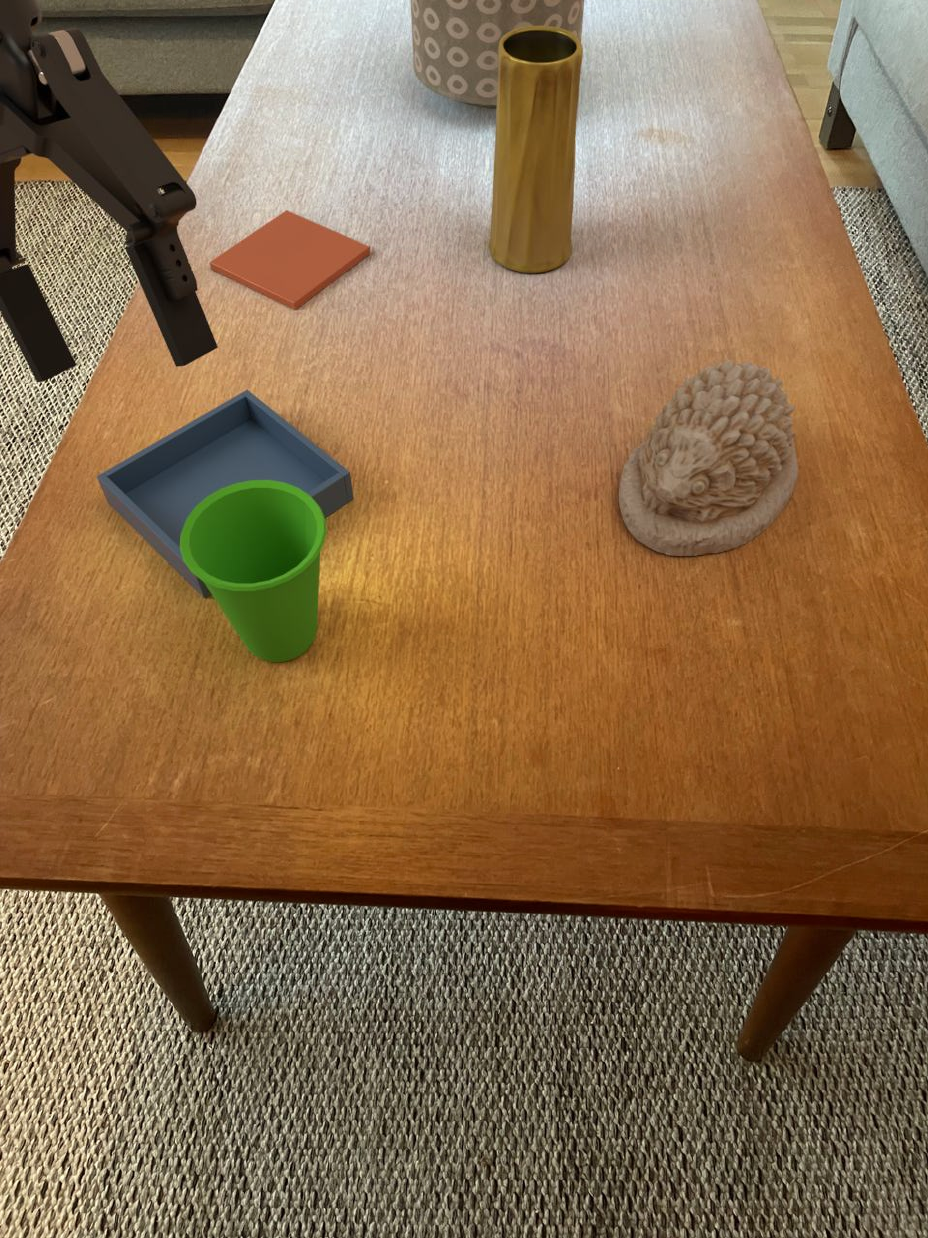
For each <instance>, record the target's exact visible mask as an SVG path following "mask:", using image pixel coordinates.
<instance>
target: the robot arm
mask: <svg viewBox="0 0 928 1238" xmlns="http://www.w3.org/2000/svg"><path fill="white" fill-rule="evenodd" d="M42 19H43V14H42V9H41V8H40V5H39V2H38V0H0V314H1V316H2V319H3V320H4V322H5V324H7V326H8V328H9V331H10V332H11V335H12V336H13V338H14V339H15V342H16V344H17V346H18V348H19V350H20V352H21V354H22V355H23V358H24V360H25V361H26V364H27V365H28V368H29V369H30V371H31V374H32V375H33V377H34V379H35V382H36V383H44V382H46V381H48V380H50V379H52V378H54V377H56V376H58V375H60V374H62V373H64V372H66V371H68V370H70V369H72V368H75V367H76V366H77V365H78V364H77V363H76V360H75V358H74V356H73V354H72V351H71V350H70V348H69V345H68V343H67V341H66V339H65V338H64V336H63V334H62V331H61V329H60V327H59V325H58V323H57V321H56V319H55V317H54V315H53V313H52V310H51V308H50V306H49V304H48V302H47V300H46V298H45V296H44V294H43V291H42V289H41V288H40V286H39V283H38V281H37V280H36V277H35V275H34V273H33V271H32V269H31V267H30V265H29V264H24V263H25V262H26V261H27V258H26V257H24V256H23V255H22V254H21V253H20V252H18V251H17V231H16V228H17V227H16V179H15V176H16V175H15V173H16V169H18V168H19V166H20V164H21V162H22V158H25V157H27V156H30V155H34V156H37V157H39V158H44V159H48V160H49V161H50V163H52V164H54V166H56V168H57V169H59V170H60V171H61V172H62V173H63V174H64V175H65V176H67V178H69V180H71V182H73V183H74V184H75V185H77V187H78V188H79V189H81V191H83V193H85V194H86V195H87V196H88V197H89V198H90V199H91V200H92V202H94V203H96V205H98V206H99V207H100V208H101V209H102V210H103V211H104V212H105V213H106V214H107V215H108V216H109V217H110V218H111V219H113V220H114V221H115V222H116V223H117V224H118V225H119V226H120V227H121V228H122V229H123V230H124V231H125V232H126V234H125V238H124V240H125V241H123V242H124V245H126V247H124V249H125V251H126V254H127V256H128V259H129V260H130V263H131V267H132V268H133V270H134V273H135V275H136V277H137V279H138V282H139V284H140V288H141V289H142V291H143V293H144V296H145V298H146V300H147V303H148V305H149V307H150V310H151V312H152V314H153V316H154V319H155V321H156V324H157V326H158V329H159V330H160V333H161V335H162V338H163V340H164V342H165V345H166V347H167V349H168V352H169V354H170V356H171V359H172V361H173V363H174V365H175V367H176V368H178V367H185V366H187V365H189V364H191V363H192V362H193V363H194V361H196V360H198V359H200V358H202V357H203V356H205V355H207V354H209V353H211V352H213V351H214V350H216V349H218V348H219V346H218V344H217V342H216V339H215V336H214V334H213V332H212V328H211V327H210V324H209V321H208V319H207V315H206V314H205V312H204V309H203V306H202V304H201V302H200V299H199V296H198V294H197V291H198V290H199V289H198V281H197V278H196V275H195V273H194V271H193V270H192V269H193V268H192V266H191V263H190V262H189V259H188V255H187V253H186V251H185V248H184V246H183V244H182V240H181V239H180V236H179V233H178V226H179V225H180V223H179V222H180V220H181V219H183V218H184V216H185V215H187V213H189V212H192V211H194V210H195V209H196V207H197V197H196V194H195V193H194V191H193V189H192V188H191V187H190V185H189V184H188V183H187V181H186V180H185V179H184V177H183V176H182V175H181V174H180V172H179V171H178V170H177V169H176V167H175V166H174V165H173V163H172V162H171V161H170V159H169V158H168V157H167V156H166V154H165V152H163V150H162V149H161V148H160V147H159V144H157V143H156V141H155V140H154V139H153V137H152V135H150V133H149V132H148V131H147V130H146V128H145V127H144V126H143V124H142V123H141V122H140V120H139V119H138V118H137V116H136V115H135V114H134V112H133V111H132V110H131V109H130V107H129V106H128V104H126V102H125V101H124V99H123V98H122V97H121V95H120V94H119V93H118V92H117V90H116V89H115V88H114V86H113V85H112V84H111V82H110V81H109V80H108V79H107V77H106V76H105V74H104V73H103V71H102V69H101V66H100V65H99V63H98V61H97V59H96V57H95V55H94V53H93V51H92V49H91V47H90V45H89V42H88V41H87V39H86V36H85V35H84V33H83V32H82V31H81V30H80V29H79V28H77V27H71V28H67V29H61V30H55V31H51V32H46V33H43V34H37V35H34V32H33V31H34V30H36V29H37V28H38V27H39V26H40V25H41V23H42V21H43V20H42ZM160 189H162V190H163V193H160V192H159V190H160ZM22 264H23V265H22ZM19 265H20V266H19ZM16 266H17V267H16ZM14 267H15V268H14Z"/></svg>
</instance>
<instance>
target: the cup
mask: <svg viewBox="0 0 928 1238" xmlns="http://www.w3.org/2000/svg"><path fill="white" fill-rule="evenodd" d="M326 536H327V520H326V518H325V517H324V515H323V512H322V510H321V508H320V507H319V505H318V504H317V503H316V502H315V501H314V499H313V498H312V497H311V496H309V495H308V494H307V493H305V492H304V491H302V490H301V489H299V488H297V487H295V486H292V485H290V484H287V483H284V482H278V481H273V480H251V481H245V482H239V483H235V484H232V485H230V486H227V487H224V488H221V489H219V490H218V491H216V492H214V493H213V494H211V495H209V496H207V497H206V498H205V499H204V500H203V501H201V502H200V503H199V504H198V505H197V506H196V507H195V508H194V509H193V511H192V512H191V513H190V515H189V516H188V518H187V519H186V522H185V524H184V527H183V529H182V532H181V537H180V550H181V554H182V557H183V561H184V562H185V564H186V565H187V567H188V568H189V569H190V571H191V572H192V573H193V574H194V575H196V576H197V577H198V578H199V579H201V580H202V581H203V582H204V583H205V585H206V586H207V588H208V589H209V591H210V592H211V594H210V595H212V597H213V599H214V600H215V601H216V604H217V605H218V606H219V608H220V609H221V611H222V613H223V614H224V615H225V617H226V618H227V620H228V621H229V623H230V625H231V626H232V628H233V629H234V631H235V632H236V634H237V636H238V637H239V638H240V640H241V642H242V643H243V645H244V646H245V648H246V649H247V650H248V652H250V653H251V654H252V655H253V656H255V657H256V658H258V659H261V660H263V661H265V662H271V663H284V662H288V661H289V662H290V661H292V660H294V659H296V658H298V657H300V656H301V655H303V654H304V653H305V652H306V651H307V650H309V648H310V647H311V645H312V644H313V642H314V640H315V639H316V635H317V632H318V620H319V619H318V618H319V617H318V616H319V597H320V596H319V595H320V573H321V571H320V569H321V552H322V549H323V547H324V544H325V540H326Z"/></svg>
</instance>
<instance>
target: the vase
mask: <svg viewBox="0 0 928 1238" xmlns="http://www.w3.org/2000/svg"><path fill="white" fill-rule="evenodd" d="M583 57H584V51H583V44H582V40H581V41H580V39H579V38H578V37H577V36H576V35H574V34H573V33H571V32H569V31H567V30H564V29H561V28H557V27H550V26H527V27H521V28H517V29H514V30H512V31H510V32H508V33H507V34H505V35H504V36H503V37H502V38H501V40H500V42H499V48H498V87H497V109H495V110H496V111H495V133H494V134H495V135H494V153H493V154H494V155H493V173H492V199H491V200H492V201H491V214H490V215H491V216H490V231H489V240H488V251H489V253H490V255H491V257H492V259H493V260H494V261H495V262H496V263H497V264H499V265H500V266H501V267H502V268H505V269H507V270H510V271H514V272H516V273H517V272H518V273H522V274H523V273H524V274H536V273H539V274H540V273H545V272H549V271H552V270H554V269H557V268H559V267H560V266H562V265H563V264H565V263H566V262H568V260H569V259H570V256H571V255H572V252H573V244H572V243H573V242H572V227H573V217H574V215H573V214H574V200H575V199H574V198H575V197H574V196H575V194H574V193H575V176H576V175H575V174H576V173H575V172H576V147H577V146H576V135H577V120H578V119H577V118H578V108H579V98H580V97H579V95H580V84H581V83H580V81H581V73H582V63H583Z"/></svg>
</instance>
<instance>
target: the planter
mask: <svg viewBox="0 0 928 1238" xmlns="http://www.w3.org/2000/svg"><path fill="white" fill-rule="evenodd" d="M584 9H585V0H410V18H411V19H410V20H411V38H412V39H411V41H412V59H413V60H412V62H413V63H412V64H413V71H414V73H415V76H416V78H417V79H418V80H419V81H420V83H421V84H422V85H423V86H425V87H426V88H427V89H429V90H430V91H431V92H433V93H435V94H437V95H439V96H442V97H444V98H446V99H450V100H453V101H457V102H460V103H463V104H466V105H470V106H474V107H477V108H483V109H495V110H497V87H498V48H499V42H500V40H501V38H502V37H503V36H504V35H505V34H507V33H508V32H510V31H512V30H514V29H517V28H521V27H527V26H550V27H557V28H561V29H564V30H567V31H569V32H571V33H573V34H574V35H576V36H577V37H578V38H579V39H580V41H581V42H582V36H583V34H582V33H583V22H584V11H585V10H584Z"/></svg>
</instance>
